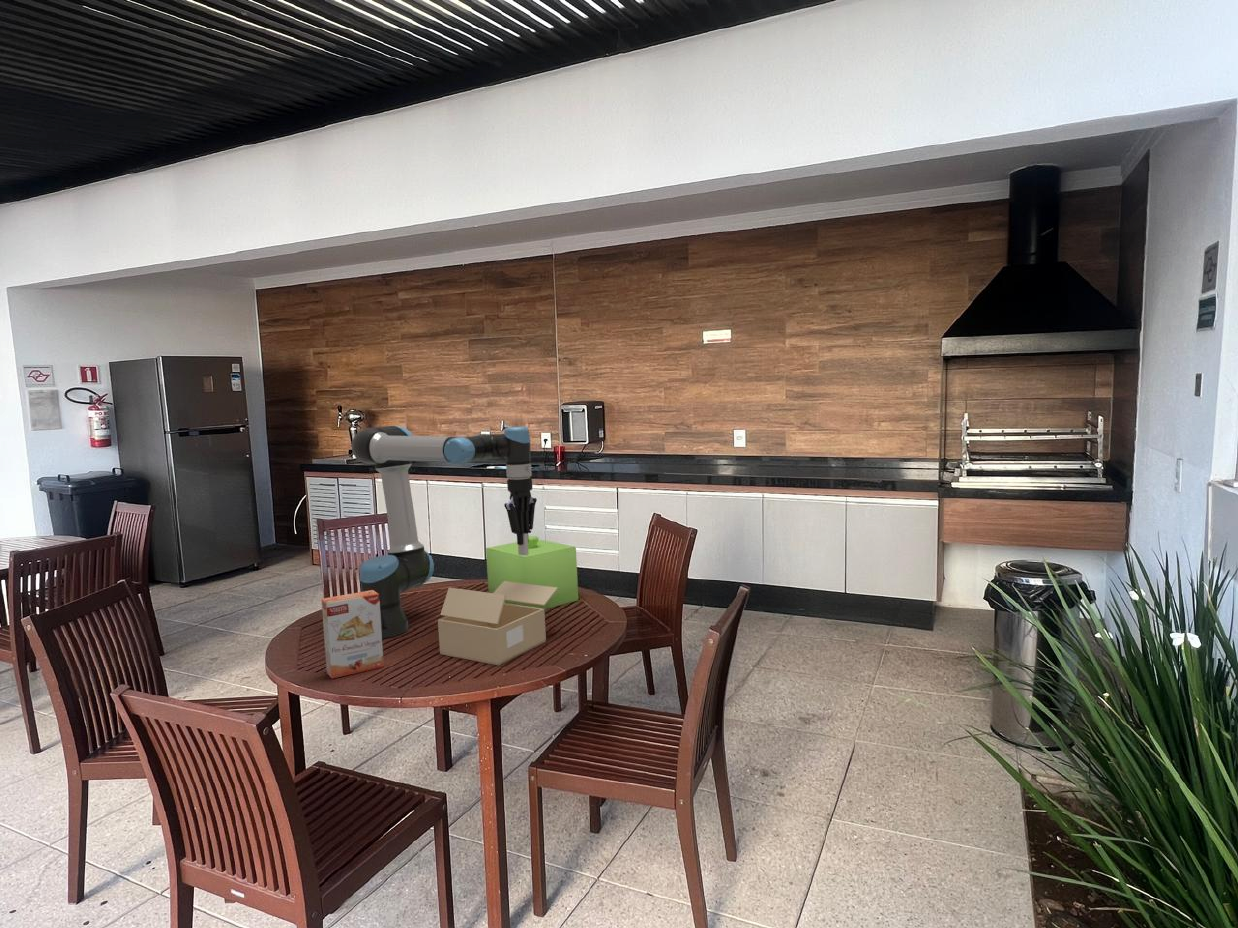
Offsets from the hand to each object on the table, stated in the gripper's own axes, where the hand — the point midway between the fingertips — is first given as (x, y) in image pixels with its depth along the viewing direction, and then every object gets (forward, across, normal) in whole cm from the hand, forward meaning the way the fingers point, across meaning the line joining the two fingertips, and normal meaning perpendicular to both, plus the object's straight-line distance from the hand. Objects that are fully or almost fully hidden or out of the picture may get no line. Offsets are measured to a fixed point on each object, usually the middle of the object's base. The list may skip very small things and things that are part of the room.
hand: (523, 554), depth 225 cm
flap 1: (+14, -26, 0) cm, 30 cm away
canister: (+25, +29, +21) cm, 43 cm away
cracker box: (+25, -46, +23) cm, 57 cm away
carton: (+24, -16, 0) cm, 29 cm away
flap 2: (+14, -6, 0) cm, 15 cm away
